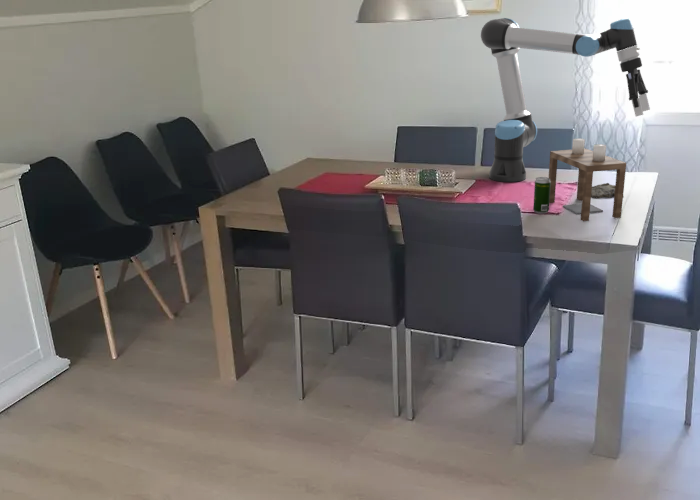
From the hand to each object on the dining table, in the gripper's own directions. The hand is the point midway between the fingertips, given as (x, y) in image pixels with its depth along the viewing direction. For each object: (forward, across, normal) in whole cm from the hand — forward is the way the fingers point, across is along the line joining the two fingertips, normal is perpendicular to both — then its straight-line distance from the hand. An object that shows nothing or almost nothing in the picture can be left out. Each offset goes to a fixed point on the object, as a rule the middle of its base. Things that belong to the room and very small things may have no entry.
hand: (643, 113), depth 279 cm
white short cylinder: (+4, -43, +15) cm, 46 cm away
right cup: (+7, -51, +7) cm, 52 cm away
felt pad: (+23, -47, +17) cm, 55 cm away
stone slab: (+24, -21, +17) cm, 36 cm away
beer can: (+20, -56, +29) cm, 66 cm away
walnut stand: (+23, -47, +17) cm, 55 cm away
